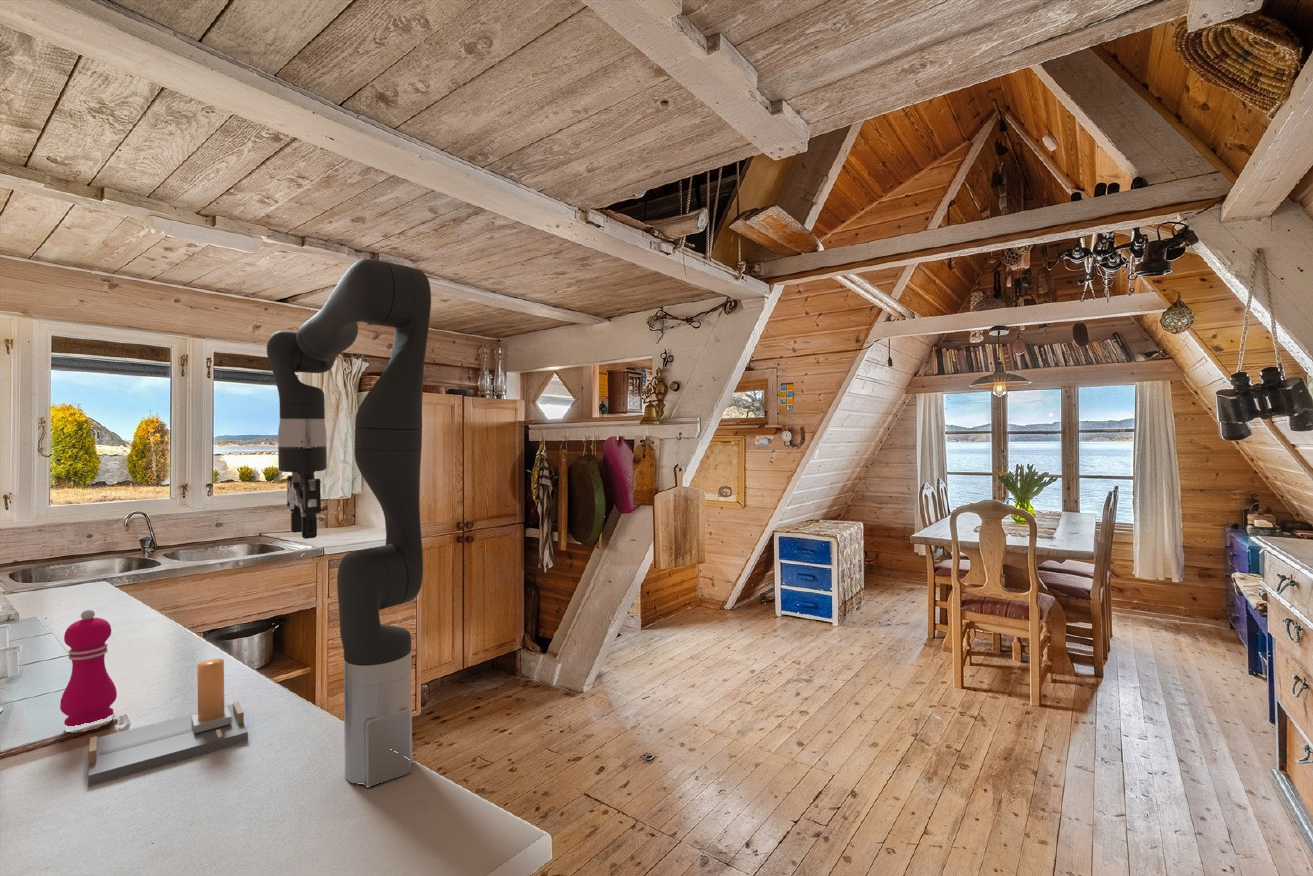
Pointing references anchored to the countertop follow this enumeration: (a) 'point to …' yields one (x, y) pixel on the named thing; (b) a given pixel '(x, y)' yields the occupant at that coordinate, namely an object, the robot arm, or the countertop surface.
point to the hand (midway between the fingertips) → (303, 535)
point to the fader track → (159, 745)
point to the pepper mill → (88, 672)
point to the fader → (210, 697)
